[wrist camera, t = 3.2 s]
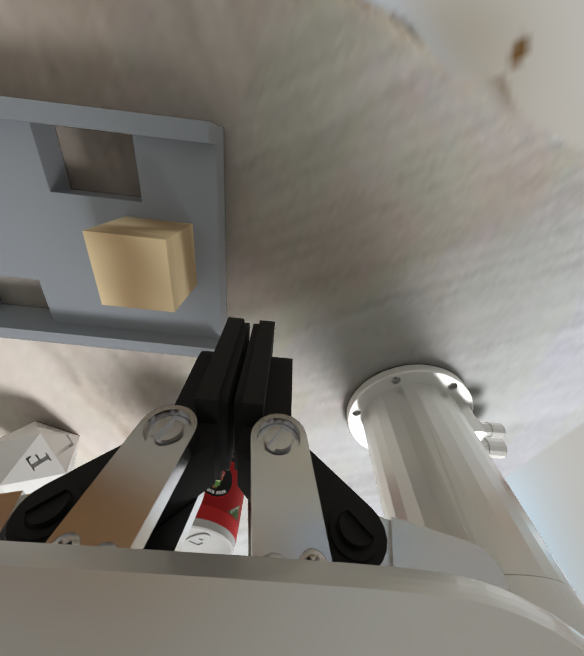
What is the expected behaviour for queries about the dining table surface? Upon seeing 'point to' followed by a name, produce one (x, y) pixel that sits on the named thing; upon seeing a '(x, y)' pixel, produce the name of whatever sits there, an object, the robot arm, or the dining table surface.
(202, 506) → the canned food
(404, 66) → the dining table surface
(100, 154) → the dining table surface
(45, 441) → the die
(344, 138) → the dining table surface
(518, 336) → the dining table surface
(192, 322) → the box
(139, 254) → the block
